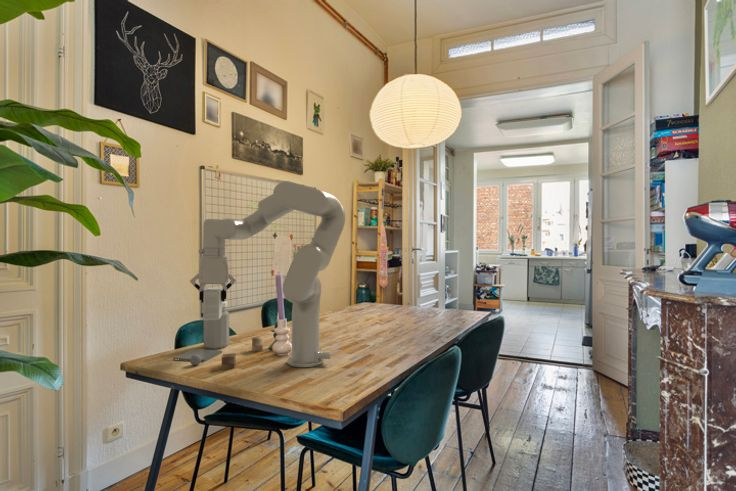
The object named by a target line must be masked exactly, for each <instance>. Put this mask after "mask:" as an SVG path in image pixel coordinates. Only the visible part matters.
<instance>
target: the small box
mask: <svg viewBox="0 0 736 491" xmlns="http://www.w3.org/2000/svg"><path fill="white" fill-rule="evenodd" d="M222 290H223V288H219V287H217V288H213V287H212V288H210V287H209V288H208V287H207V288H206V289H205V290H203V291H204V295H203V303H202V306H203V307H202V309H203V312H202V320H203V321H204V320H219V319H220V317H221V316H222Z"/></svg>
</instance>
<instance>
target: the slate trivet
mask: <svg viewBox="0 0 736 491" xmlns="http://www.w3.org/2000/svg"><path fill="white" fill-rule="evenodd" d="M222 353H223V350H219V349H199V348H198V349H197V348H193V349H190V350H188V351H185V352H183V353H181V354H179V355H177V356H175V357H173V359H179V360H178V361H180V360H190V358H191V357H192V356H193V355H195V354H197V355H200V356H201V361H205V362H207V361H209V360H211V359H213V358H215V357H216V356H218V355H220V354H222ZM173 359H172V360H173Z"/></svg>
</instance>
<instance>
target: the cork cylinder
mask: <svg viewBox="0 0 736 491" xmlns="http://www.w3.org/2000/svg"><path fill="white" fill-rule="evenodd" d="M263 342H264V338H263V336H253V337H252V338H251V352H253V353H260V352H263V351H264V347H263V346H264V344H263Z"/></svg>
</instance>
